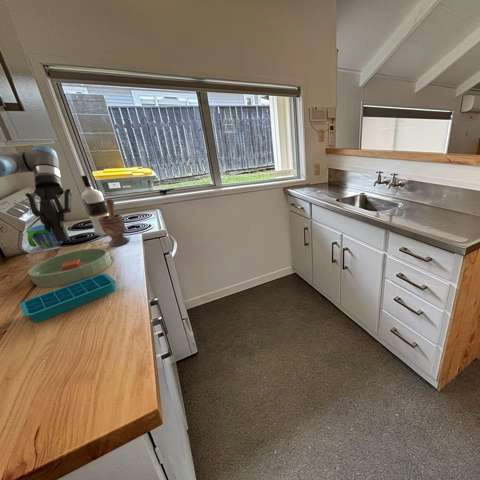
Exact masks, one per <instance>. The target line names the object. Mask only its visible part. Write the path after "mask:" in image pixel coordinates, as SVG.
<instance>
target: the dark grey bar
mask: <svg viewBox="0 0 480 480" xmlns="http://www.w3.org/2000/svg"><path fill="white" fill-rule="evenodd" d="M38 203H39V206H40V205H41V207H42V210H43V212H44V214H45V216H46V218H47V220H48V222H49V224H50V227H51V229H52V231H53V233H54V235H55V237H56V239H57V242H59V241H62V242H64V241H68V240H69V239H70V236H69V234H68V232H67V229H66V227H65V226H64V229H63V230H61V229H60V228H59V227H58V222H57V214H56V212H59V211H58V208H57V206H56V204H55V202H54V200H53V199H50V200H42V201H41V200H40V201H39V202H38Z"/></svg>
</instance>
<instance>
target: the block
mask: <svg viewBox="0 0 480 480" xmlns="http://www.w3.org/2000/svg"><path fill="white" fill-rule="evenodd" d="M81 266H83V265H82V263H81V261H80V259H78V260H74V261H69V262H65V263H63V265H62V266H61V269H62V271H67V270H71V269H75V268H78V267H81Z"/></svg>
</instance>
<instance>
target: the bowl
mask: <svg viewBox="0 0 480 480" xmlns="http://www.w3.org/2000/svg"><path fill="white" fill-rule="evenodd" d="M110 255H111V254H110V253H109V251H108V249H106V248H104V247H103V248H102V247H94V248H84V249H79V250H73V251H70V252H65V253H62V254H59V255H56V256H52V257H49V258H47V259H44V260H42V261H41V262H38V263H37V264H35V265H33V266H31V267H30V268H29V269H28V270H27V275H28V276H29V278H30V280H31V281H32V283H33V285H34V286H36V287H37V288H38V287H39V288H53V287H60V286H66V285H70V284H73V283H76V282H79V281H82V280H85V279H88V278H90V277H93V276H96V275H98V274H100V273H101V272H103V271H105V270H106V269H107V268H109V267H110V266H111V265H112V263H113V261H112V258H111V256H110ZM78 259H80V261H81V263H82V265H83V266H81V267H78V268H75V269H71V270H67V271H62V269H61V266H62V265H63V263H65V262H69V261H74V260H78Z"/></svg>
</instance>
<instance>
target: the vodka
mask: <svg viewBox="0 0 480 480" xmlns="http://www.w3.org/2000/svg"><path fill="white" fill-rule="evenodd" d="M80 178H81V180H82V183H83V185H84V188H85V190H84V191H83V192H82V193H80V198H81V200H82V202H83V203H84V207H85V208H86V211H87V215H88V217H89V219H90V221H91V224H92V227H93V232H94V234H95V236H98V237H103V236H107V235H106V234H105V232H104V231H103V229H102V227H101V225H100V223H99V220H98V219H99V218H101V217H104V216H109V213H108V209H107V205H106V200H105V198H104V195H103V193H102V191H100V190H98V189H95V188H93V186H92V182H91V181H90V178H89V175H81V177H80Z"/></svg>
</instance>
